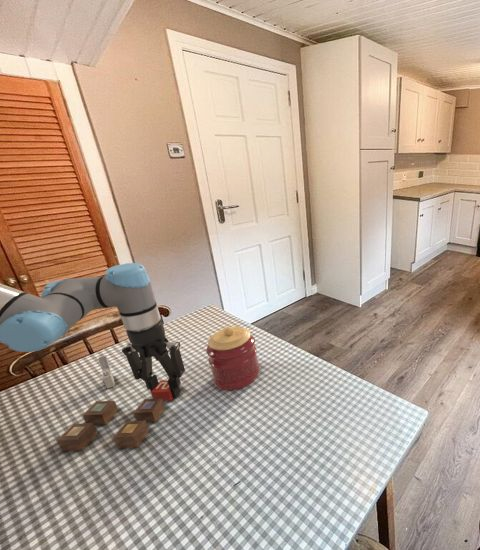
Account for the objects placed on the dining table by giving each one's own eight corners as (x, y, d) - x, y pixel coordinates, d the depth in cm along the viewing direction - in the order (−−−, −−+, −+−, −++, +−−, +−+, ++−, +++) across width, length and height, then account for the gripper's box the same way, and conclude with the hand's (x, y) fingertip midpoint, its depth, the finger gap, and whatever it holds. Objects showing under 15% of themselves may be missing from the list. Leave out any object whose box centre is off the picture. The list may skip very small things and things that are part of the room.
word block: (63, 453, 69) (56, 440, 67) (79, 436, 73) (73, 423, 71) (84, 452, 69) (77, 439, 67) (99, 435, 73) (93, 422, 72)
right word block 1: (118, 450, 69) (112, 437, 68) (131, 433, 74) (126, 420, 72) (138, 449, 70) (133, 436, 68) (150, 432, 74) (145, 420, 72)
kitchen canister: (222, 399, 83) (209, 346, 77) (208, 375, 92) (196, 326, 86) (267, 378, 91) (259, 328, 85) (250, 358, 100) (242, 311, 94)
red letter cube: (154, 403, 82) (150, 391, 81) (164, 391, 87) (160, 380, 85) (171, 402, 83) (168, 391, 81) (180, 390, 87) (176, 379, 85)
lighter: (115, 387, 88) (106, 365, 85) (107, 390, 87) (98, 367, 84) (113, 375, 93) (105, 353, 90) (106, 377, 92) (97, 355, 89)
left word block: (87, 427, 75) (81, 415, 74) (101, 413, 79) (96, 401, 78) (106, 426, 75) (101, 414, 74) (119, 412, 80) (114, 400, 78)
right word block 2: (137, 424, 76) (133, 412, 74) (148, 410, 80) (144, 398, 78) (156, 424, 76) (151, 411, 75) (166, 409, 80) (162, 398, 79)
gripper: (187, 315, 80) (205, 385, 88) (118, 317, 79) (143, 388, 88) (171, 330, 73) (193, 405, 81) (95, 333, 72) (126, 408, 81)
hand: (167, 396), depth 84 cm, fingers closed on red letter cube, 4 cm apart
